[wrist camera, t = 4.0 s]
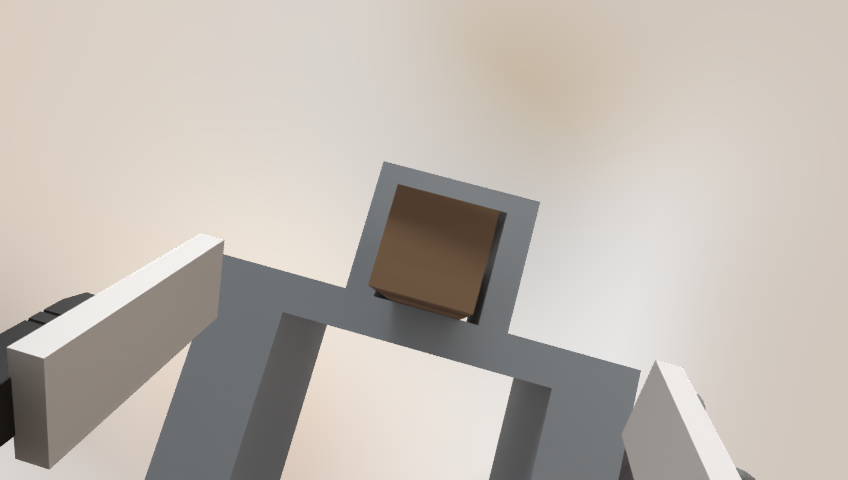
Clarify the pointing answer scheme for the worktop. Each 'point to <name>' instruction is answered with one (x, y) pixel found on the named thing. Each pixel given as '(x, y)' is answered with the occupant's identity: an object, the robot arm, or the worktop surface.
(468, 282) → the rod
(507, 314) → the light blue upright pillar
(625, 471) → the vintage gas pump
